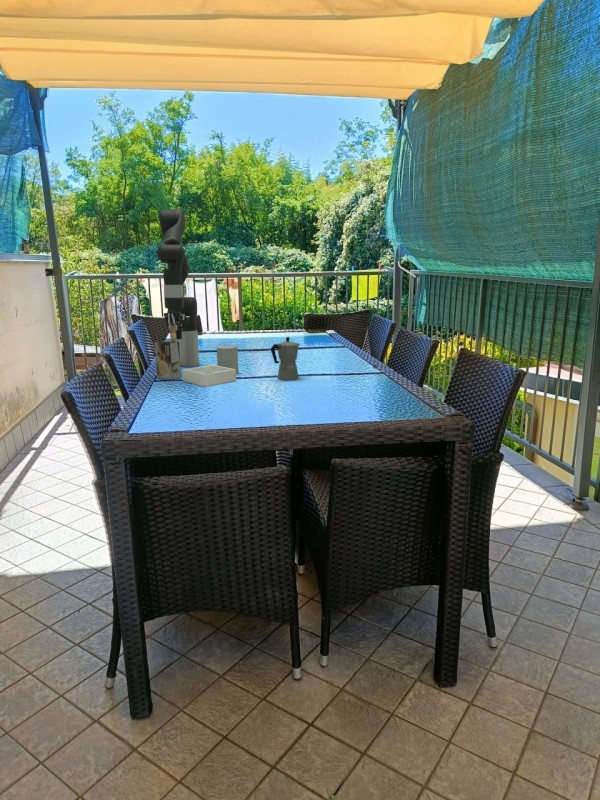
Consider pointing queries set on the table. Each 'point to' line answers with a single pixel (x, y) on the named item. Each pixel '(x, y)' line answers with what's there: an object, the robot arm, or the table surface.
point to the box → (209, 375)
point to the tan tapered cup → (173, 333)
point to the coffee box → (168, 359)
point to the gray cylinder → (228, 357)
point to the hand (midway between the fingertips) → (176, 338)
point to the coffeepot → (286, 360)
